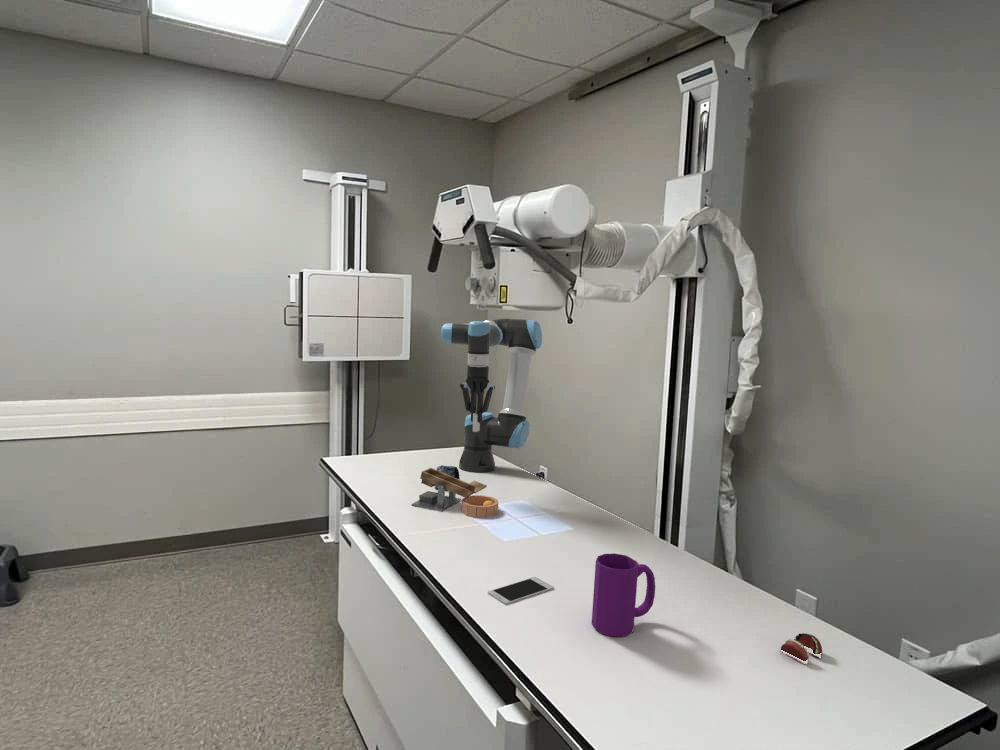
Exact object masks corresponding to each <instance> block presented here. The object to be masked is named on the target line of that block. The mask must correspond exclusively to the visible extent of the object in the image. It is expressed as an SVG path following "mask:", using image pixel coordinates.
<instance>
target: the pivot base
mask: <svg viewBox="0 0 1000 750" xmlns="http://www.w3.org/2000/svg"><path fill="white" fill-rule="evenodd" d="M456 495H457V494H455V493H453V492H451V491H448V495H446V490H445V485H438V488H437V492H435V491H431V490H428V491H425V492H424V493H421V494H419V495H418V498H419V499H418V500H417V501H415V502H413V503H411V506H412V507H416V508H422V509H427V510H432V511H437V512H443V511H445V510H447V509H448V508H450V507H452V506H454V505H456V504H458V503H459V502H462V498H459V497H456Z"/></svg>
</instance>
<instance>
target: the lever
mask: <svg viewBox="0 0 1000 750" xmlns="http://www.w3.org/2000/svg"><path fill="white" fill-rule="evenodd" d="M419 479H420V480H421V484H423V485H425V486H427V487H429V488H432V487H433V488H434V486H435V485H437V486H438V485H445V489H446V490H445V491H448V492H449V491H451V492H453V493H455V494H456V495H459V496H461V497H463V498H467V497H469V496H473V495H474V494H477V493H479V492H480V491H482V490H484V489H486V488H487V487H488V486H487V484H484V483H481V482H478V481H477V480H473V481H471V482H467V481H464V480H461V479H460V480H459V479H457V478H454V477H452V476H450V475H447V474H445V473H442V472H440V471H437V469H435V468H432V467H430V468H426V469H425V470H422V471H421V474H420V478H419Z"/></svg>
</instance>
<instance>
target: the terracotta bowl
mask: <svg viewBox="0 0 1000 750" xmlns="http://www.w3.org/2000/svg"><path fill="white" fill-rule="evenodd" d="M485 501H491V502H492V503H493V504H492V505H487V506H483V504H484V502H485ZM460 508H461V513H462V514H464V515H465V516H469V517H473V518H490V517H494V516H495V515H496V516H497V514H499V501H498V499H497V498H495V497H493V496H487V495H474V494H473V495H470V496H469V497H467V498H465V497H463V498H461V506H460Z"/></svg>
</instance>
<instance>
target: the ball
mask: <svg viewBox="0 0 1000 750" xmlns="http://www.w3.org/2000/svg"><path fill="white" fill-rule="evenodd" d="M492 504H493V503H492V502H491V501H485V502H484V504H483V506H487V505H492Z"/></svg>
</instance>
